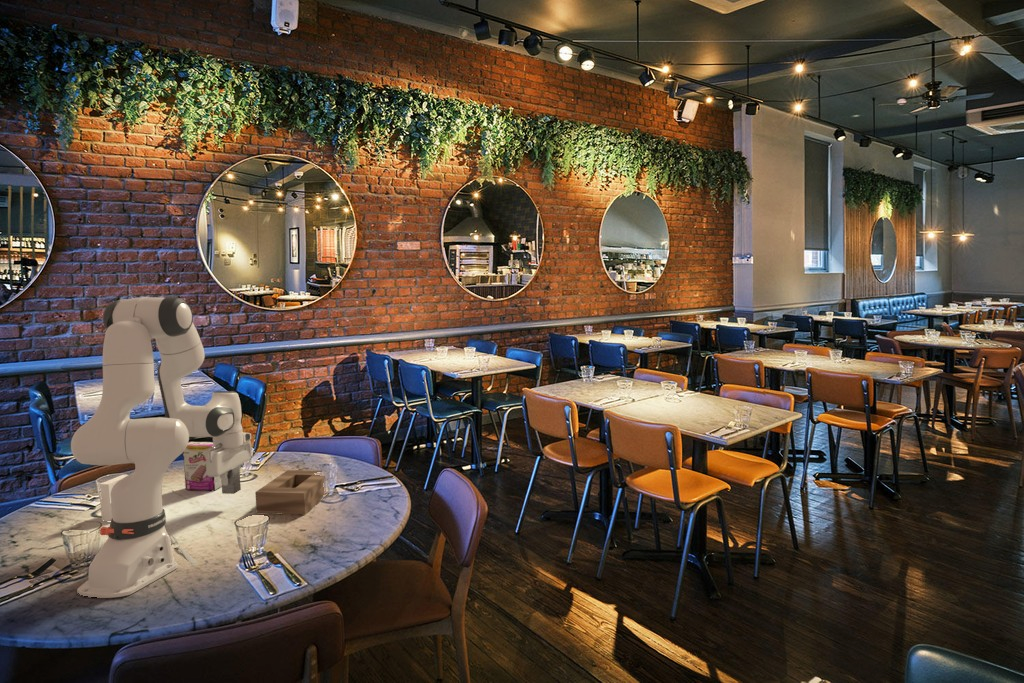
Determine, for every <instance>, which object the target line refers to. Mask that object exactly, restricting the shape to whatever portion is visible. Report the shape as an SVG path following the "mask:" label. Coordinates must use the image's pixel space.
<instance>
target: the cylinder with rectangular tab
mask: <svg viewBox="0 0 1024 683" xmlns="http://www.w3.org/2000/svg"><path fill="white" fill-rule="evenodd" d="M128 475H129V474H121V475H119V476H116V477H114V478H110V479H109V480H105V481H103V482H101V483H100V495H101V496H100V497H101V499H100V501H99V503H100V515H101V521H102V520H104V521H111V519H112V518H113V517H112V506H111V495H110V494H111V490H112V488H113V486H114V485H115V484H116V483H117V482H118V481H119V480H121V479H122V478H124V477H126V476H128ZM104 521H103V522H104Z"/></svg>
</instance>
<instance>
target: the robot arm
mask: <svg viewBox="0 0 1024 683" xmlns="http://www.w3.org/2000/svg"><path fill="white" fill-rule="evenodd" d="M193 321H194V314H193V310H192V308H191V306H190V305H189V304H188V302H187V301H186V300H184V299H183V298H179V297H175V296H167V297H161V296H160V297H155V296H154V297H150V296H141V297H133V298H129V299H126V298H122V299H121V298H120V299H119V300H115V301H111V302H109V303H108V305H107V306H106V307H105V309H104V310H103V313H102V324H103V327H104V329H105V335H104V339H103V346H102V348H103V349H102V394H101V399H100V402H99V405H98V407H97V409H96V410H95V412H94V414H93V415H92V416H91V417H90V418H89V419H88V420H87V421H86V422H85V423H84V424H82V425H81V426H80V427H79V428H77V430H76V431H75V432H74V434H73V435H72V437H71V441H70V450H71V453H72V455H73V458H74V459H75V460H76V461H77V462H78V463H80V464H82V465H83V464H84V465H91V466H110V465H112V466H114V465H123V464H124V465H125V464H134V467H135V469H134V472H132V473H130V474H127V475H128V476H126V477H124V478H122V479H121V480H119V481H118V482H117V483H116V484H115V485H114V486H113V488H112V490H111V494H110V495H111V506H112V517H113V518H112V519H111V522H109V523H110V524H109V526H101V527H100V529H99V532H98V533H99V535H100V536H107V537H108V538H107V540H106V541H105V542H104V544H103V545H102V547H101V548H100V549H99V550H98V552H97V554H96V555H95V557H94V558H93V560H91V562H90V564H89V567H88V579H87V580H86V581H85V582H84V583H82V584H81V585H80V586H79V587H78V588H77V589H76V591H77V592H78V593H79V594H80V595H79V594H78V593H77V592H76V593H77V594H78V595H79V596H81V595H83V596H82V597H84V596H88V597H87V598H91V597H97V598H96V599H113V598H121V597H126V596H129V595H131V594H134V593H136V592H137V591H140V590H141V589H143V588H145V587H147V586H148V585H150V584H152V583H153V582H156V581H157V580H159V579H160V578H162V577H164V576H166V575H167V574H170V573H171V572H174V571H175V570H176V569H178V567H179V565H178V562H177V561H176V560H175V558H174V554H173V548H172V547H173V546H171V544H172V541H171V539H170V537H169V534H168V531H167V530H166V526H165V525H166V523H167V522H166V521H167V520H166V518H167V516H166V510H165V509H164V508H163V483H164V482H163V481H164V476H165V475H166V473H167V470H168V468H169V467H170V465H171V464H172V463H173V462H174V461H175V460H176V459H177V458H178V457H179V456H181V455H183V452H184V450H185V449H186V447H187V445H188V443H189V442H190V441H189V440H190V438H212V442H213V447H212V448H211V450H210V452H209V453H208V455H207V462H206V473H207V475H208V477H218V476H219V477H220V478H221V480H222V485H225V486H226V485H228V484H230V479H228V477H227V475H228V471H230V470H231V469H233V468H235V467H237V466H239V469H240V470H241V469H242V465H243V464H245V463H246V462H248V461H250V460H251V458H252V442H251V440H252V433H250V432H246V431H244V432H243V425H242V417H243V414H242V413H243V412H242V404H241V400H240V397H239V393H237V392H236V391H235V390H234V391H233V390H231V391H230V390H216V391H213V392H212V393H211V394H212V395H211V399H210V400H209V401H208V402H207V403H205V404H204V405H191V404H189V403H188V402H186V401H185V398H184V393H183V392H184V391H183V387H182V383H181V380H182V378H185V377H188V376H190V375H192V374H193V373H194V372H196V371H197V370H198V369H199V368H200V367H201V366H202V365H203V363H204V361H205V358H206V355H205V349H204V346H203V343H202V340H201V337H200V335H199V333H198V330H197V328H196V326H195V324H194V322H193ZM152 339H155V343H156V346H157V349H158V352H159V355H160V358H161V359H160V361H161V362H160V363H159V364H158V367H157V382H158V386H159V390H160V394H161V399H162V404H163V409H164V417H162V416H158V417H145V418H130V415H131V412H132V409H133V408H136V407H137V406H140V405H141V404H143V403H145V402H146V401H148V400H149V399H150V398H151V397H152V396H153V395H154V392H155V391H156V390H155V363H154V360H155V359H154V351H153V346H152Z"/></svg>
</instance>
